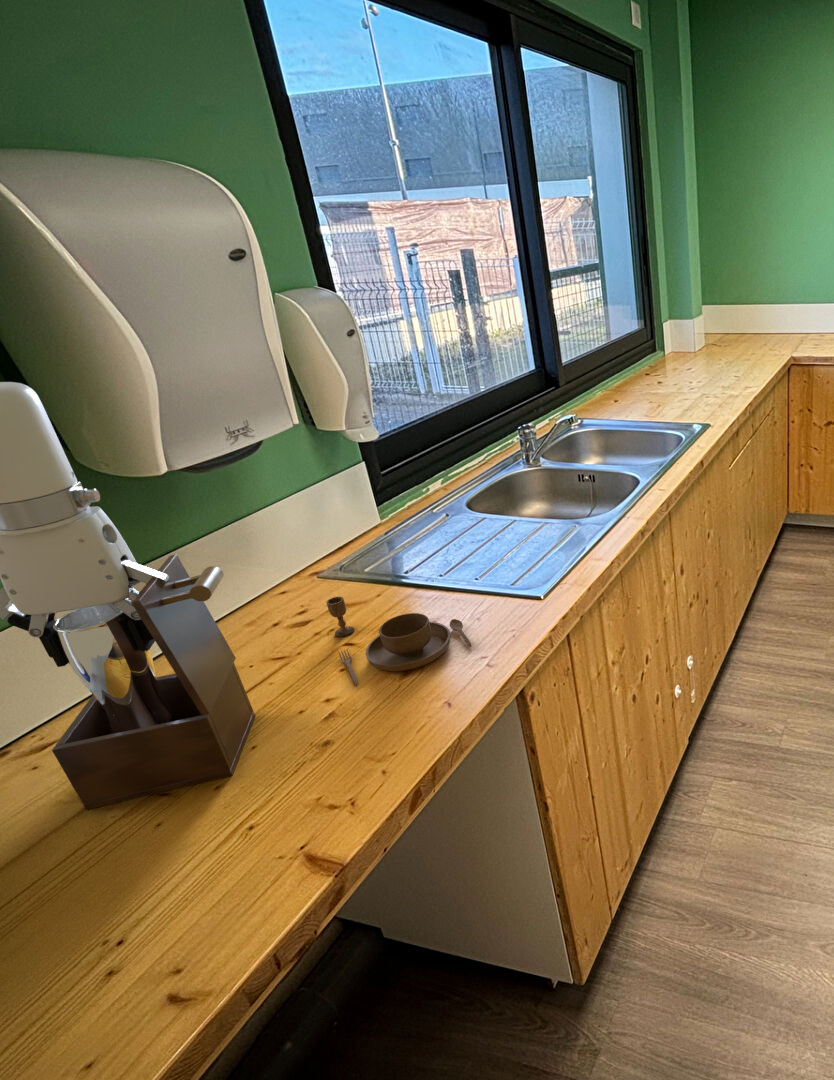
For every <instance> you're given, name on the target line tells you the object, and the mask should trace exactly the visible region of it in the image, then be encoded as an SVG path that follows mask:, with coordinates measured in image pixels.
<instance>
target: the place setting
mask: <svg viewBox="0 0 834 1080" xmlns="http://www.w3.org/2000/svg"><path fill="white" fill-rule="evenodd" d="M325 603H326V607H327V609H328V612H329V614H330V616H332V618H336V619H337V621H338V623H337V625H338V626H339V627H340V628H338V629H336V631H335V632H334V636H335V637H337V638H344V637H347V636H349V635H350V636H351V634H353V633H354V632H355V627H353V626H347V622H346V620H345V619H344V616H345V615H346V614H347V606H346V602H345V599H344V597H343V596H334V597H331V598H329V599H327V600H326V602H325ZM463 626H464V625H463V622H462V621H461V620H459V619H457V618H452V619H451V620H450V622H449V627H450V629H452V630H453V631H457V632H458V633H459V634H460V636H461V637H462V639H463V641H464V642H465V644H466V645H467V646H468V647H470V648H471V647H472V645H473V644H472V643H471V641H470V639H469V638H468V637H467V635H466V633H464V631H463ZM450 629H449V628H448V626H446V625H445V624H443V623H440V622H437V621H431V620H429V617H428V616H427V615H425V614H423V613H419V612H412V613H411V612H410V613H403V614H400V615H396V616H394V617H391V618H389V619H388V620H386V621H385V622H383V623H382V624H381V625H380V626H379V628H378V634H379V635H377V636H376V637H374V639H372V640H371V641H370V642H369V644H368V645H367V647H366V648H365V657H366V659H367V661H368V663H369V664H370V665H371V666H372V667H374V668H375V669H378V670H381V671H385V672H404V671H409V670H414V669H417V668H420V667H423V666H425V665H427V664H430V663H431V662H433V661H435V660H436V659H438V658H439V657H440V656H442V654H444V653H445V652H446V650H448V648H449V647H450V643H451V639H452V635H451V631H450ZM340 652H341V653H340ZM343 652H344V653H343ZM338 656H339V658H340V661H341V663H342V664H346V666H347V667H346V668H347V670H348V672H349V674H350V677H351V679H352V681H353V683H354V685H355V686H357V685H359V681H358V678H357V676H356V673H355V672H354V669H353V667H352V665H351V662H352V657H351V654H350V651H349V650H348V649H346V650H345V649H343V650H342V649H341V650H340V651H338Z"/></svg>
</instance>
